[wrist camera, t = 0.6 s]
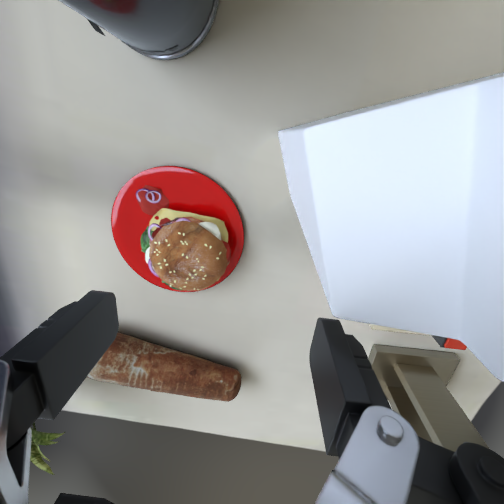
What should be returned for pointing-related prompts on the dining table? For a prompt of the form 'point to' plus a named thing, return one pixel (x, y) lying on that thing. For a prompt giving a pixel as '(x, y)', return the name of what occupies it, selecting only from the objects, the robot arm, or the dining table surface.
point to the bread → (164, 370)
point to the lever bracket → (424, 393)
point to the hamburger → (177, 228)
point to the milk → (409, 212)
